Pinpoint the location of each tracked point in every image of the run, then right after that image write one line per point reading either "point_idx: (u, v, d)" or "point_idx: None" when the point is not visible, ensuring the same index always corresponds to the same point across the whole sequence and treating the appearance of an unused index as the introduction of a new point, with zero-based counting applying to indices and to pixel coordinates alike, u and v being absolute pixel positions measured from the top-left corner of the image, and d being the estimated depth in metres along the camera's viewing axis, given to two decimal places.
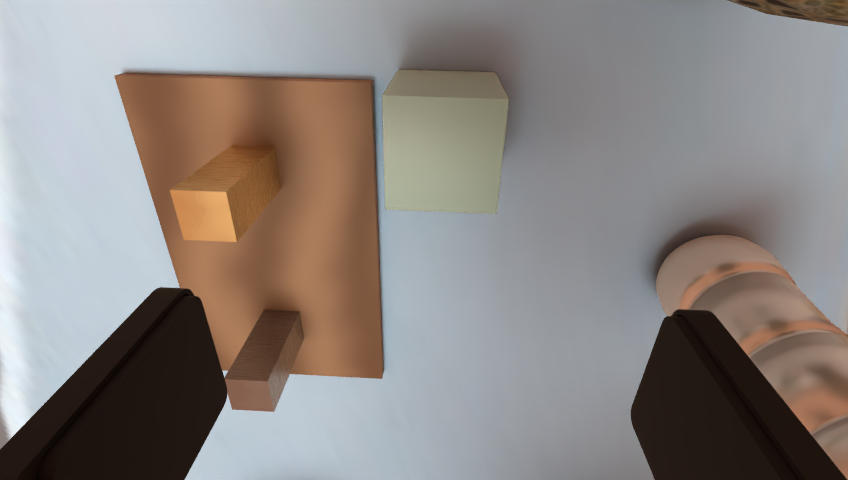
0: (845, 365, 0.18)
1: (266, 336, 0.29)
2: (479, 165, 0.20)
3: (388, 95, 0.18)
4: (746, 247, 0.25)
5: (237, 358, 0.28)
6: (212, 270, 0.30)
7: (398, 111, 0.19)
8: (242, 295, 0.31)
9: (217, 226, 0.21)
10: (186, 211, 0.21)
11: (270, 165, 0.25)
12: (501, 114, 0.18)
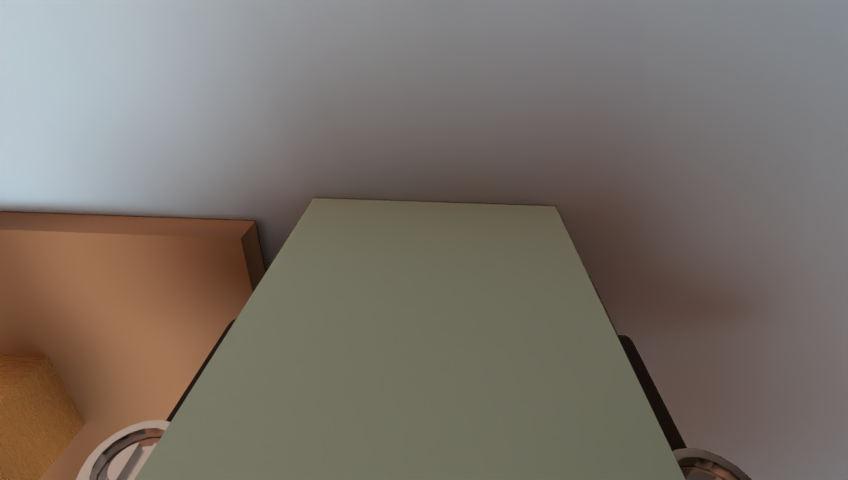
0: None
1: None
2: None
3: None
4: None
5: None
6: None
7: None
8: None
9: None
10: None
11: (25, 410, 0.11)
12: None
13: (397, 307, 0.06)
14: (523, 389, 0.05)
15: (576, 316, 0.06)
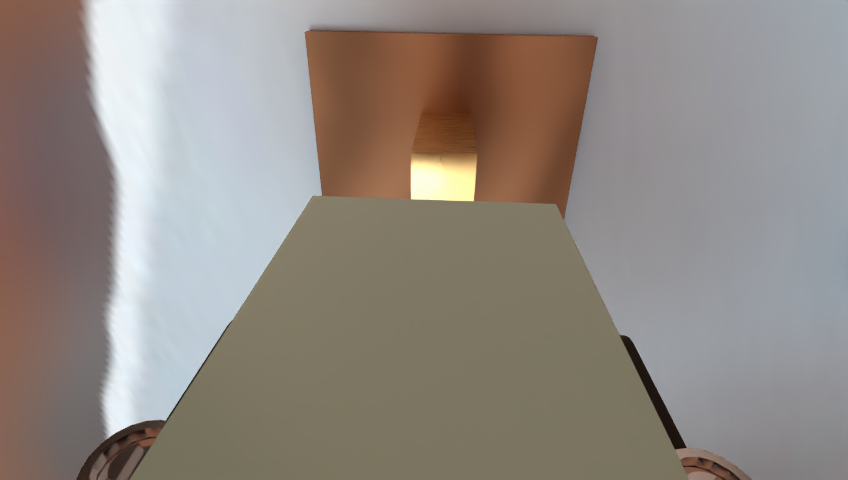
0: None
1: None
2: None
3: None
4: None
5: None
6: None
7: None
8: None
9: (455, 195, 0.18)
10: (423, 177, 0.18)
11: None
12: None
13: (397, 304, 0.06)
14: (524, 386, 0.05)
15: (577, 313, 0.06)
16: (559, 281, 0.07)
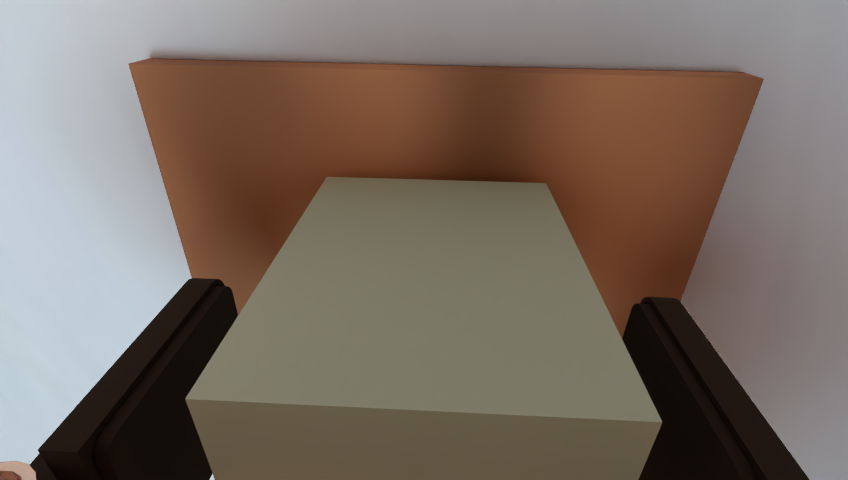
0: None
1: None
2: None
3: (210, 397, 0.05)
4: None
5: None
6: None
7: (254, 439, 0.05)
8: None
9: None
10: None
11: None
12: (625, 456, 0.05)
13: (405, 262, 0.07)
14: (513, 321, 0.06)
15: (560, 268, 0.07)
16: (546, 244, 0.08)
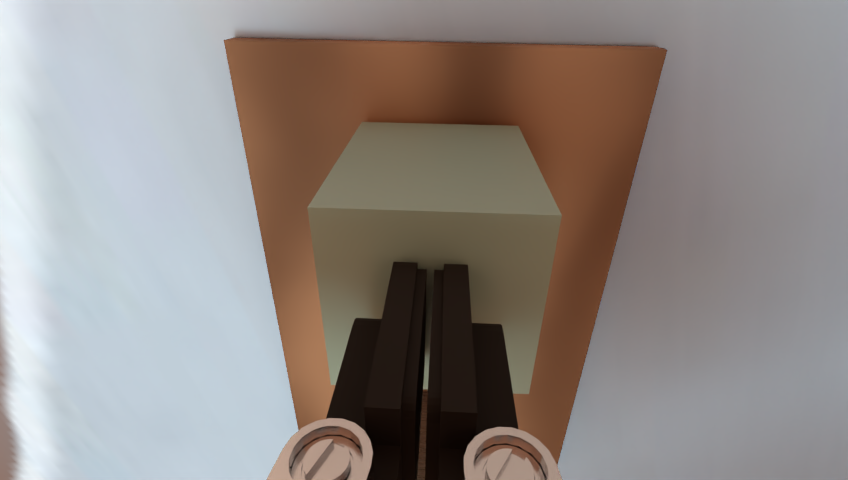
0: None
1: (425, 441, 0.20)
2: None
3: (320, 207, 0.09)
4: None
5: None
6: None
7: (342, 235, 0.09)
8: None
9: None
10: None
11: None
12: (545, 241, 0.09)
13: (421, 160, 0.12)
14: (487, 184, 0.10)
15: (519, 164, 0.12)
16: (512, 154, 0.12)
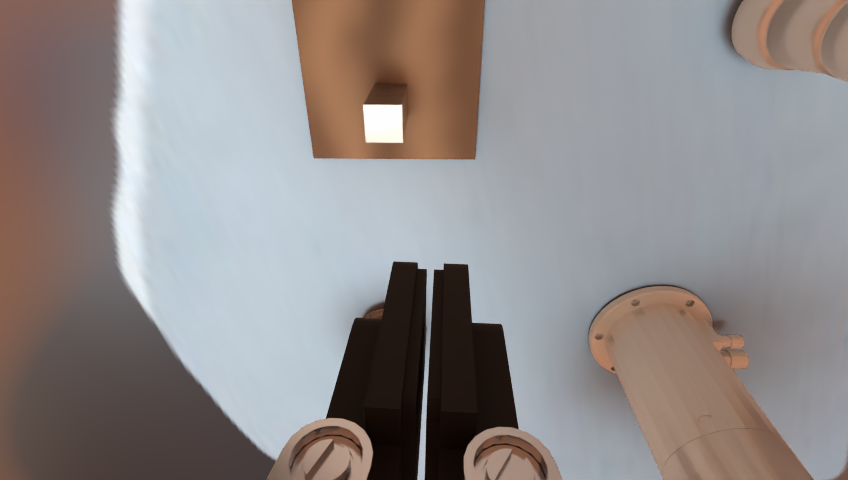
0: None
1: (386, 91, 0.33)
2: None
3: None
4: None
5: (367, 98, 0.31)
6: (331, 40, 0.34)
7: None
8: (356, 67, 0.35)
9: None
10: None
11: None
12: None
13: None
14: None
15: None
16: None
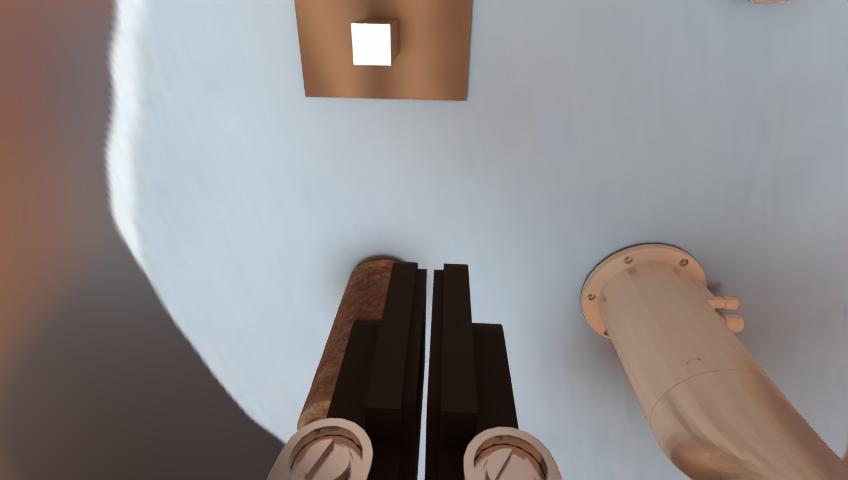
0: None
1: (376, 19, 0.33)
2: None
3: None
4: None
5: (357, 21, 0.31)
6: None
7: None
8: (349, 0, 0.35)
9: None
10: None
11: None
12: None
13: None
14: None
15: None
16: None
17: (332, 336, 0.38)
